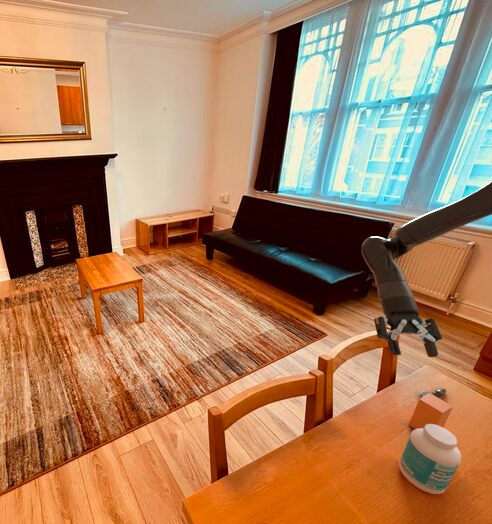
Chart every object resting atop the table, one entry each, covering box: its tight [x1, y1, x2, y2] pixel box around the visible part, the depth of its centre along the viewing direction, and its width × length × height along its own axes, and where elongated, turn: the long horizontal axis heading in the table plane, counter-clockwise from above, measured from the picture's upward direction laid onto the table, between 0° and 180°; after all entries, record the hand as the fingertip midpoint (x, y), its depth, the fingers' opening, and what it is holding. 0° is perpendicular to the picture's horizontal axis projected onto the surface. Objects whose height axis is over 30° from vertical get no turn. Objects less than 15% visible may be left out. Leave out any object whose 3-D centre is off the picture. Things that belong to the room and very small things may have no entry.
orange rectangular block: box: [408, 392, 454, 430], centre depth 69 cm, size 4×4×9 cm
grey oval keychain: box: [419, 387, 448, 399], centre depth 79 cm, size 9×4×1 cm, turn 112°
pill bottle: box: [398, 424, 462, 495], centre depth 58 cm, size 8×7×14 cm
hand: (415, 356), depth 74 cm, fingers open, 8 cm apart
